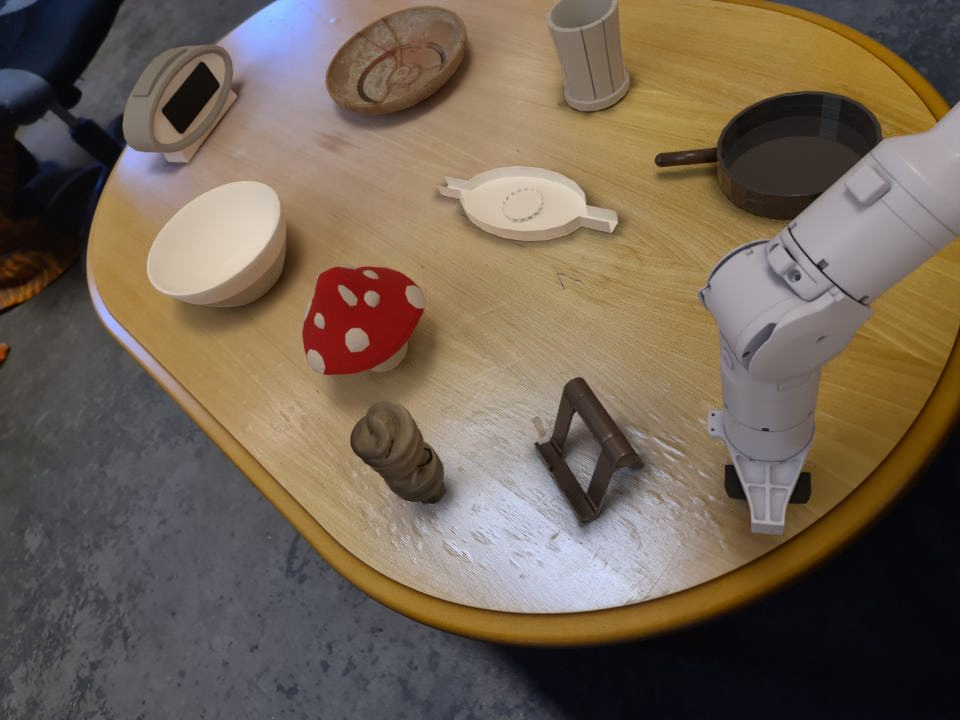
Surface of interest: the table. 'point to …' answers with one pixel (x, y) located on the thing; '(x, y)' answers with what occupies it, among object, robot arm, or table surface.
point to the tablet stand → (606, 434)
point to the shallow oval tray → (527, 204)
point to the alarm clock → (179, 101)
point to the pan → (792, 150)
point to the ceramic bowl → (397, 60)
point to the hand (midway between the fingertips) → (765, 477)
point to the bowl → (221, 247)
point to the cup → (589, 52)
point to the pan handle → (687, 157)
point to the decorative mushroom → (360, 319)
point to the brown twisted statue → (399, 453)
